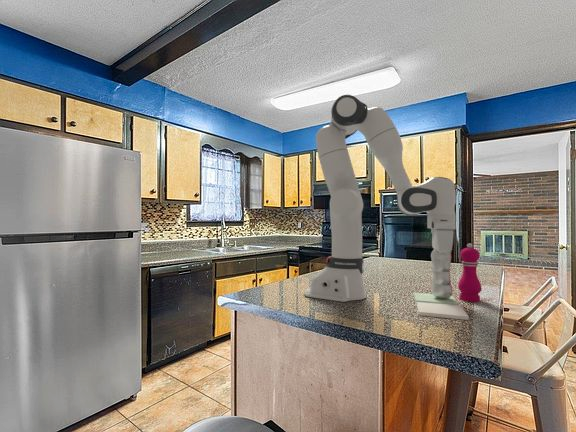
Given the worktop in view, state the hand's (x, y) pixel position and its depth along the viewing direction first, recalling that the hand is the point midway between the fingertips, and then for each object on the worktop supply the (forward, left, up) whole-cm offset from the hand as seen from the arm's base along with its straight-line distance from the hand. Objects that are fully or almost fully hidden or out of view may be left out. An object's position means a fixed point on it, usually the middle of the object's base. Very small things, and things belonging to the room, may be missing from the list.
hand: (440, 263), depth 109 cm
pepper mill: (+10, +6, -13) cm, 18 cm away
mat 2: (-2, -14, -13) cm, 19 cm away
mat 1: (-2, 0, -13) cm, 13 cm away
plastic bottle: (0, 0, -12) cm, 12 cm away
